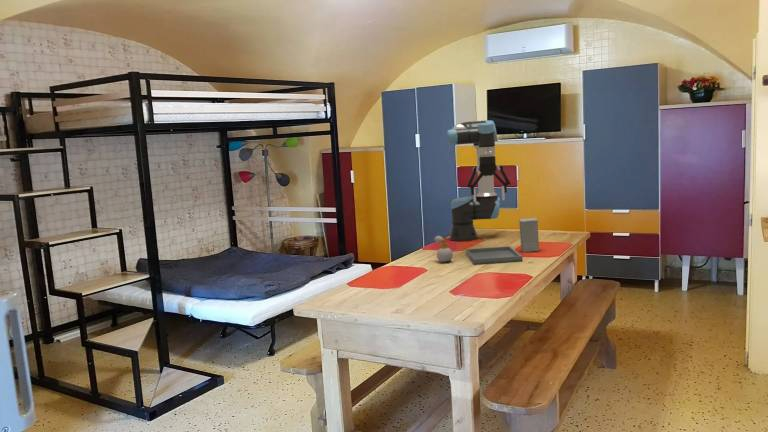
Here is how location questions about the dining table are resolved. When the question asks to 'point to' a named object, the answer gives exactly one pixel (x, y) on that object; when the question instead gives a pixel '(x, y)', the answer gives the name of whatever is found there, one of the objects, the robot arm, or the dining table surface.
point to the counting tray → (493, 255)
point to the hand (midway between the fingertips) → (489, 200)
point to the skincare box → (529, 234)
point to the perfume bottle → (443, 250)
